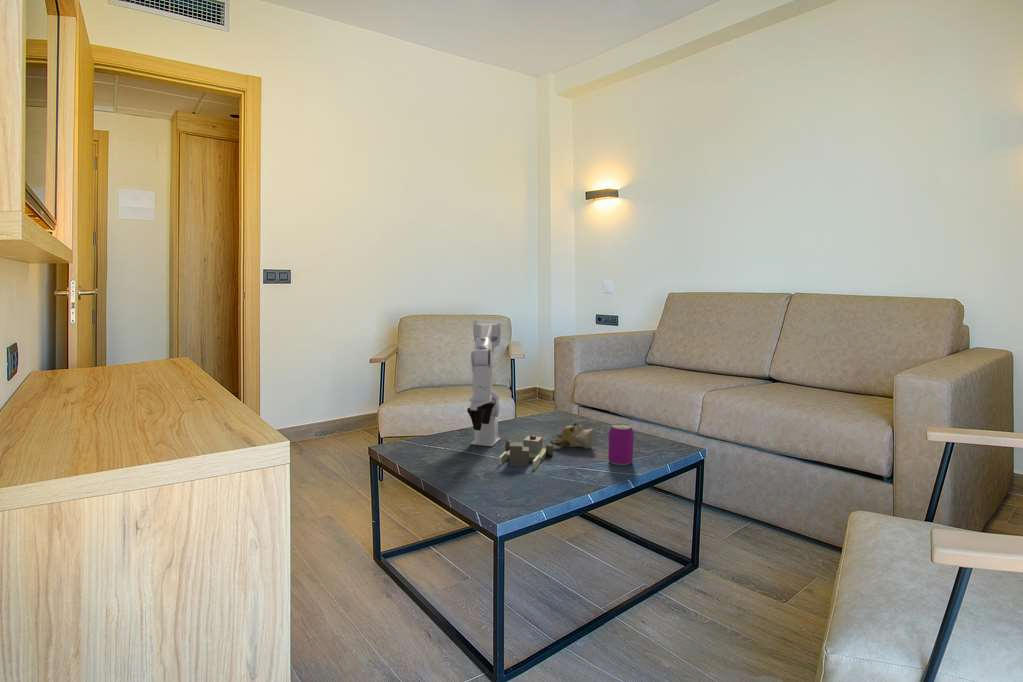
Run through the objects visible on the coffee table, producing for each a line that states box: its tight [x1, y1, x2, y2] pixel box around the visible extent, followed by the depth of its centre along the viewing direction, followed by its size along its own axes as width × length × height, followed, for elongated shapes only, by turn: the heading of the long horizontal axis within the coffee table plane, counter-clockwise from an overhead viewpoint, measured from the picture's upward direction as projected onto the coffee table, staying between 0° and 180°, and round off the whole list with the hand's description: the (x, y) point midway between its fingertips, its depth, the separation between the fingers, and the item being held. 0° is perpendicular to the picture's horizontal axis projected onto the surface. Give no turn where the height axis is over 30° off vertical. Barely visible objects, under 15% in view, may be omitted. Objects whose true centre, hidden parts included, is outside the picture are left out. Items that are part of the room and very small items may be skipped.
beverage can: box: [607, 422, 635, 466], centre depth 181 cm, size 8×8×12 cm
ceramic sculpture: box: [549, 422, 596, 450], centre depth 197 cm, size 11×9×15 cm
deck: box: [498, 434, 555, 470], centre depth 184 cm, size 16×16×6 cm
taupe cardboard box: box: [508, 441, 530, 467], centre depth 179 cm, size 4×6×6 cm, turn 89°
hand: (481, 426), depth 186 cm, fingers open, 7 cm apart
